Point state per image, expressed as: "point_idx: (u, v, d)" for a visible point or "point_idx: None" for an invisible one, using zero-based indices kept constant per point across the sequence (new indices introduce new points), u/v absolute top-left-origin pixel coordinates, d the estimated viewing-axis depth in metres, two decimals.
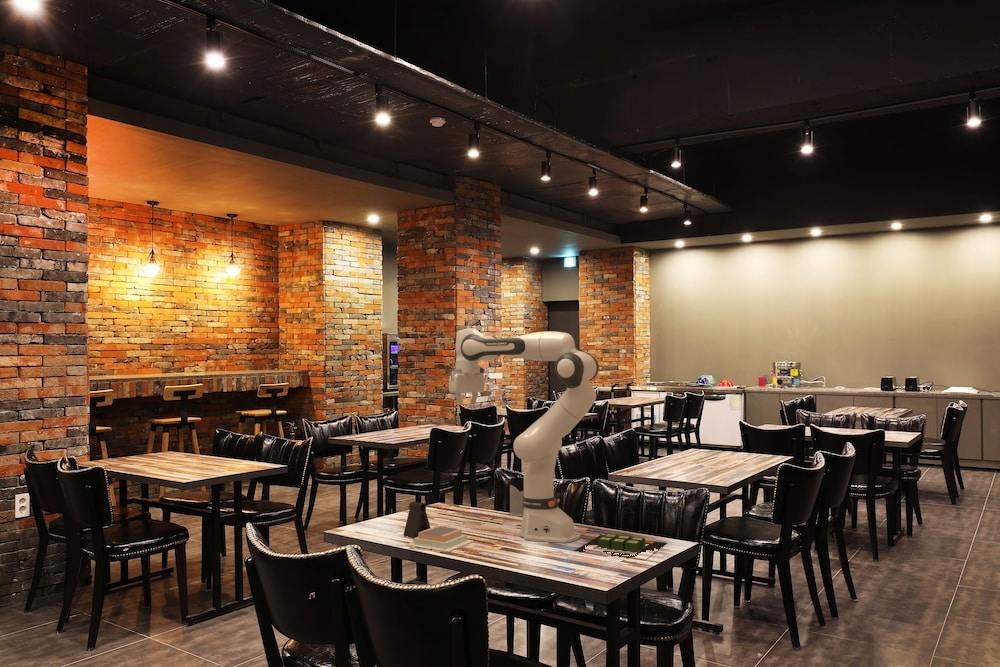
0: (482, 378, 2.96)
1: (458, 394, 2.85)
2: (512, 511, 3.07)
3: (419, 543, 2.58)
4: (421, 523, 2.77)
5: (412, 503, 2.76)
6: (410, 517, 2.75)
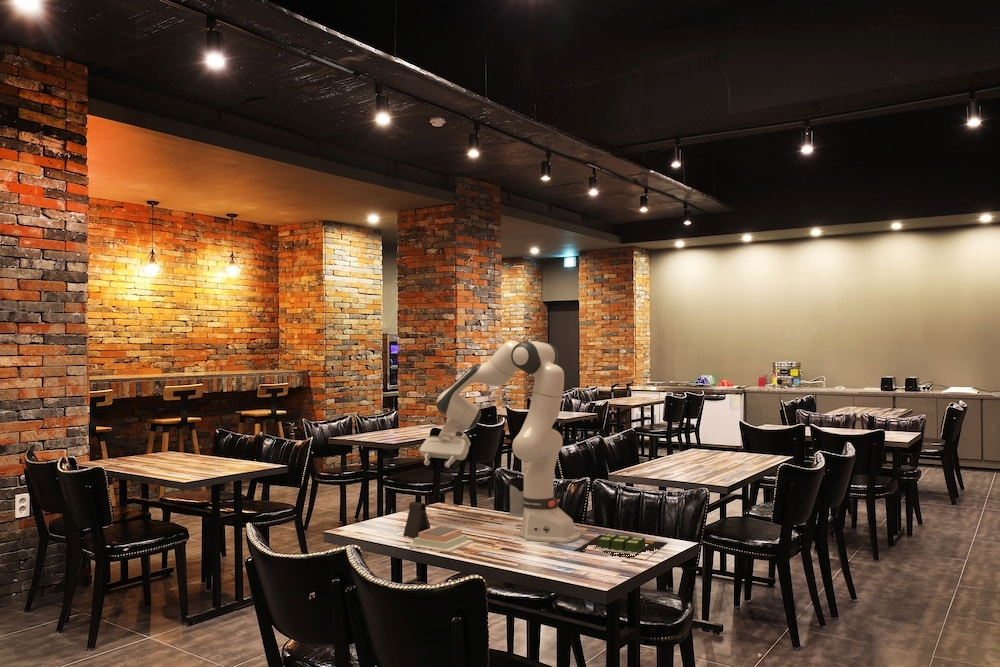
0: (461, 442, 2.88)
1: None
2: (512, 511, 3.07)
3: (419, 543, 2.58)
4: (421, 523, 2.77)
5: (412, 503, 2.76)
6: (410, 517, 2.75)
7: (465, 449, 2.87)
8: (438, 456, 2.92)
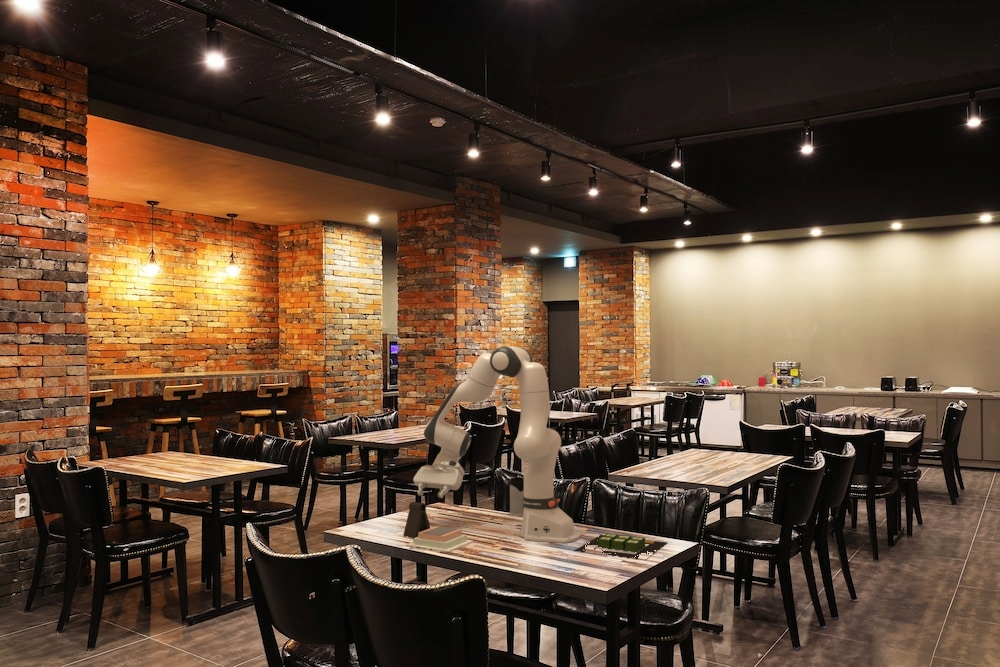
0: (455, 472, 2.84)
1: None
2: (512, 511, 3.07)
3: (419, 543, 2.58)
4: (421, 523, 2.77)
5: (412, 503, 2.76)
6: (410, 517, 2.75)
7: (459, 479, 2.83)
8: (432, 486, 2.88)
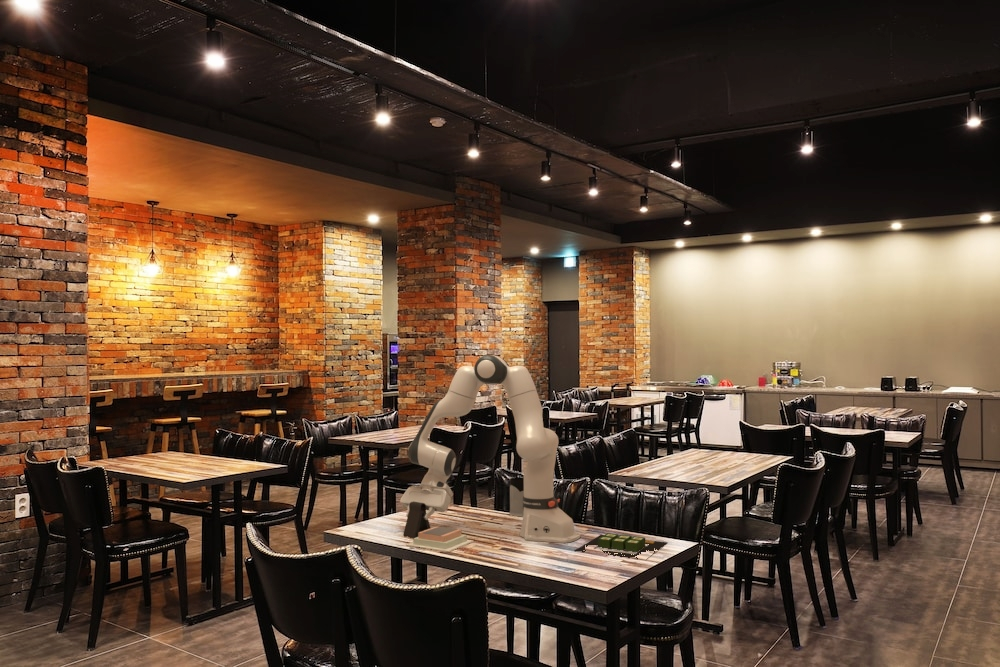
0: (442, 493, 2.76)
1: None
2: (512, 511, 3.07)
3: (419, 543, 2.58)
4: (421, 523, 2.77)
5: (412, 503, 2.76)
6: (410, 517, 2.75)
7: (447, 501, 2.75)
8: None
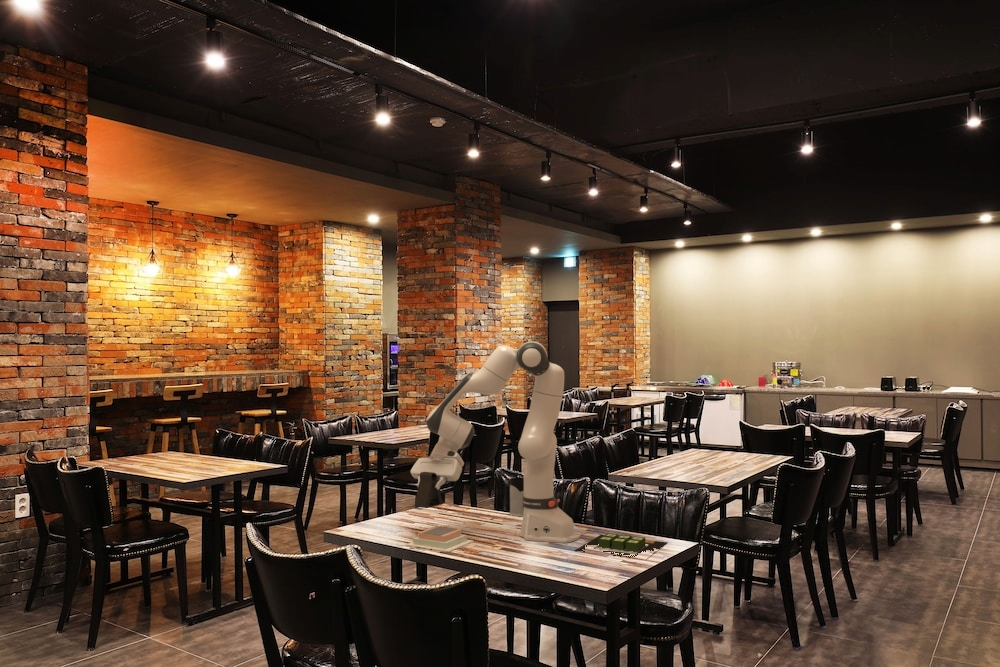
0: (453, 462, 2.71)
1: None
2: (512, 511, 3.07)
3: (419, 543, 2.58)
4: (432, 493, 2.71)
5: (422, 473, 2.71)
6: (421, 487, 2.69)
7: (458, 470, 2.70)
8: None
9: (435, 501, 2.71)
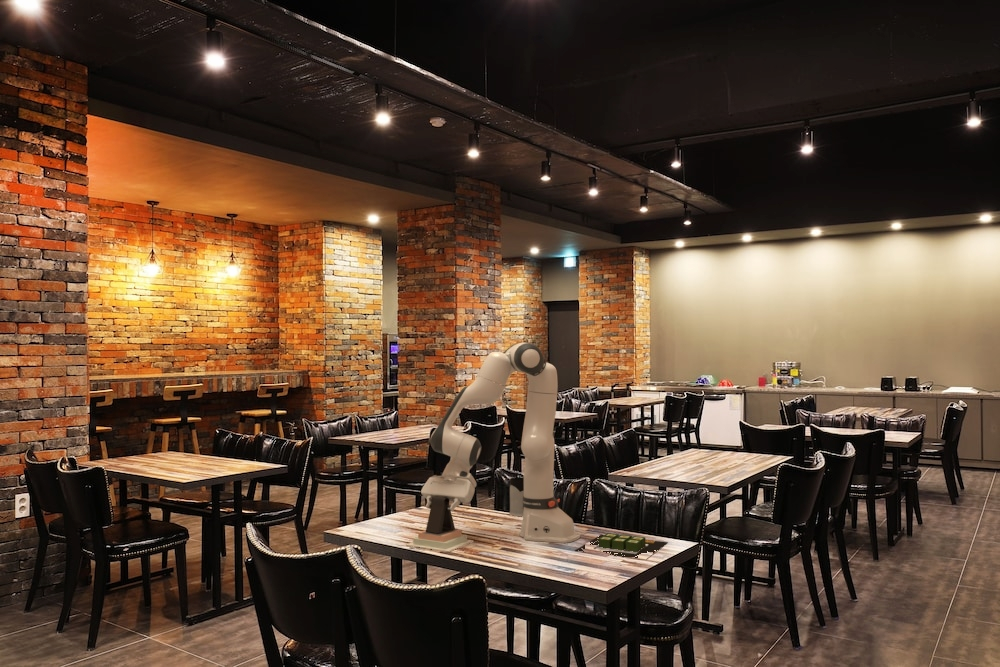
0: (466, 483, 2.63)
1: None
2: (512, 511, 3.07)
3: (419, 543, 2.58)
4: (444, 518, 2.63)
5: (434, 497, 2.63)
6: (433, 512, 2.61)
7: (470, 491, 2.62)
8: None
9: (446, 526, 2.64)
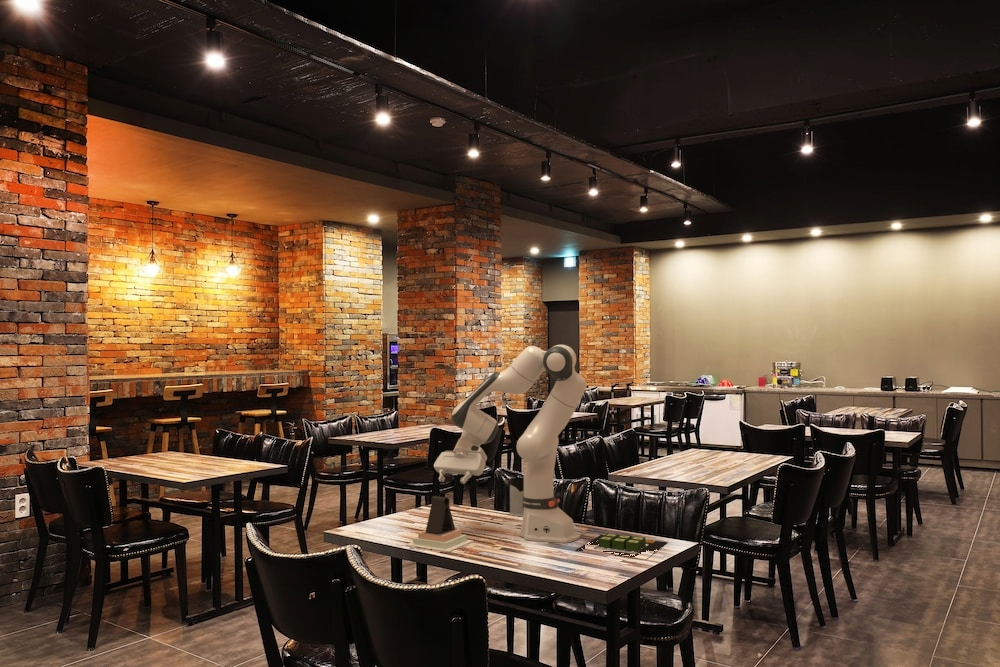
0: (477, 457, 2.74)
1: None
2: (512, 511, 3.07)
3: (419, 543, 2.58)
4: (444, 518, 2.63)
5: (434, 497, 2.63)
6: (433, 512, 2.61)
7: (482, 464, 2.73)
8: (453, 472, 2.77)
9: (446, 526, 2.64)
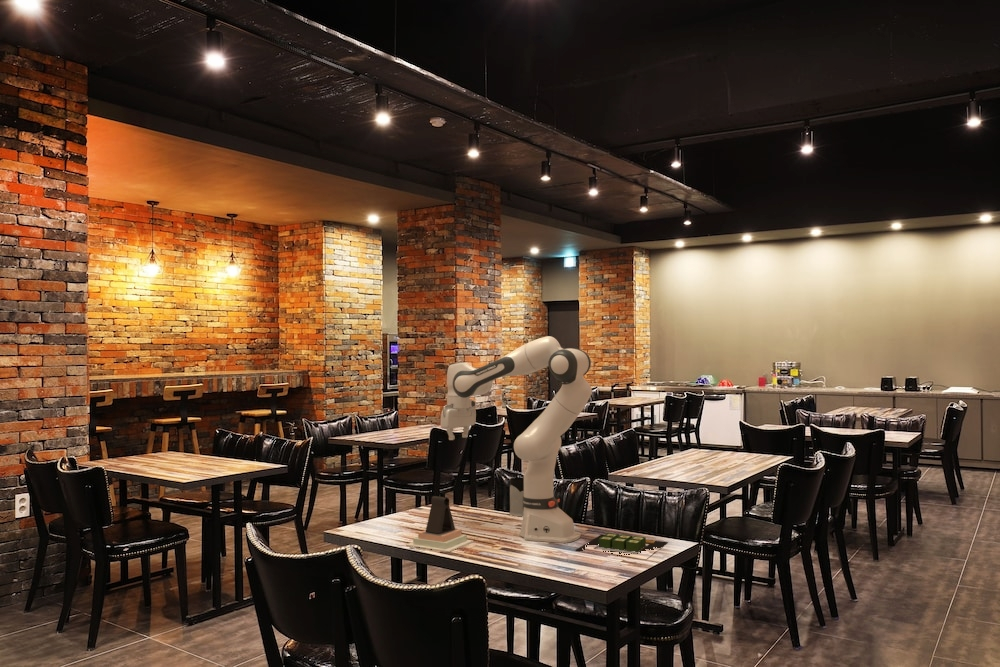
0: (473, 411, 2.96)
1: (450, 429, 2.84)
2: (512, 511, 3.07)
3: (419, 543, 2.58)
4: (444, 518, 2.63)
5: (434, 497, 2.63)
6: (433, 512, 2.61)
7: None
8: None
9: (446, 526, 2.64)
